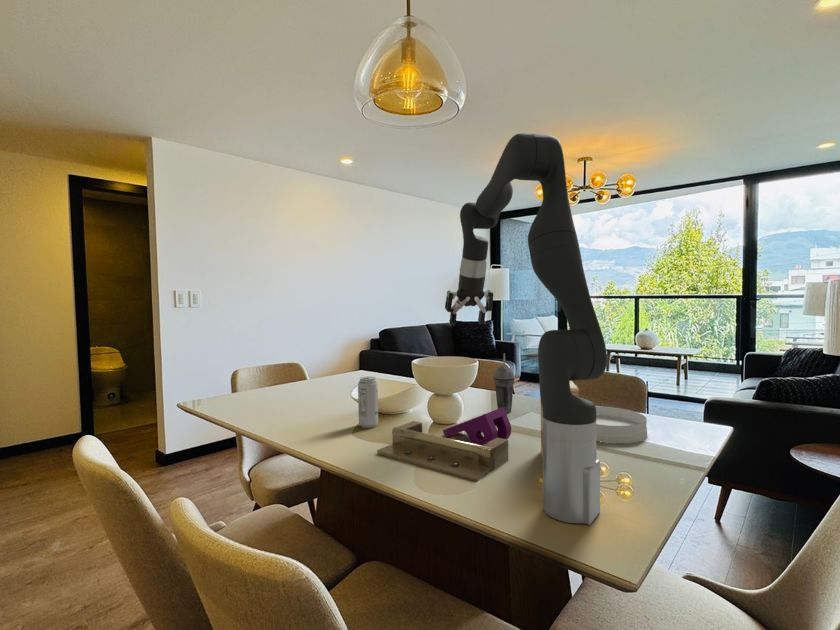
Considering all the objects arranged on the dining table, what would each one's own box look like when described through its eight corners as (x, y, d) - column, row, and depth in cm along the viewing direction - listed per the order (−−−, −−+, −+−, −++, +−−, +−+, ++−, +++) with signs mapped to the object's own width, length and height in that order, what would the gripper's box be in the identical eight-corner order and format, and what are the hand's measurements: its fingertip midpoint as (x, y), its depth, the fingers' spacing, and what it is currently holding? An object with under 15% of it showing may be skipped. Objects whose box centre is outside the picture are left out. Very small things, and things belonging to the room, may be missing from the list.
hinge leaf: (508, 460, 106) (508, 438, 106) (476, 481, 94) (476, 457, 94) (413, 438, 124) (413, 420, 124) (377, 454, 112) (376, 433, 112)
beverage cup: (492, 413, 150) (491, 354, 149) (495, 408, 156) (494, 352, 156) (514, 414, 147) (513, 355, 147) (516, 409, 154) (515, 352, 154)
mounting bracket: (446, 462, 122) (497, 446, 111) (435, 432, 124) (484, 414, 113) (466, 452, 129) (515, 437, 118) (455, 425, 131) (503, 406, 120)
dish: (565, 440, 121) (565, 422, 121) (564, 419, 142) (563, 404, 142) (655, 447, 114) (655, 428, 114) (639, 424, 135) (639, 408, 135)
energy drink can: (380, 427, 136) (379, 378, 135) (361, 429, 134) (360, 380, 133) (375, 422, 141) (374, 375, 141) (356, 424, 139) (355, 377, 139)
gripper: (452, 276, 123) (447, 329, 130) (500, 276, 127) (493, 328, 133) (445, 269, 130) (441, 319, 136) (491, 268, 133) (484, 318, 140)
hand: (466, 323), depth 135 cm, fingers open, 8 cm apart
